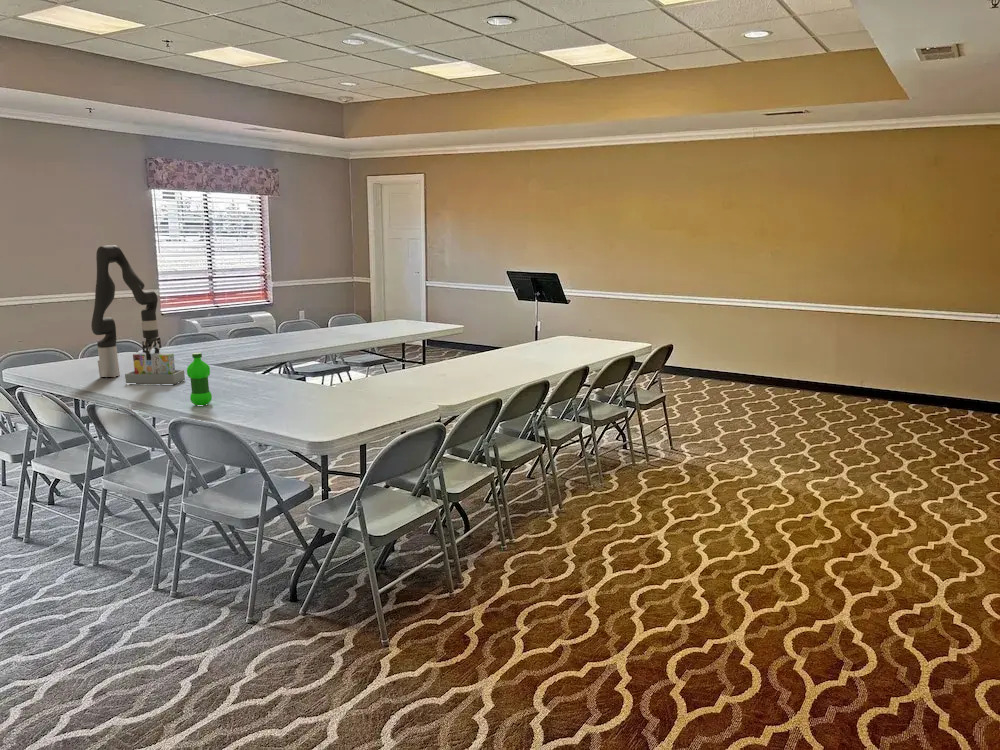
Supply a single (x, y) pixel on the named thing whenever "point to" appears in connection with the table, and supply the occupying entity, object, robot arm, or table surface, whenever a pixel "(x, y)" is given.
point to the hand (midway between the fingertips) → (153, 358)
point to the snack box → (154, 363)
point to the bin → (155, 378)
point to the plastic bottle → (199, 380)
